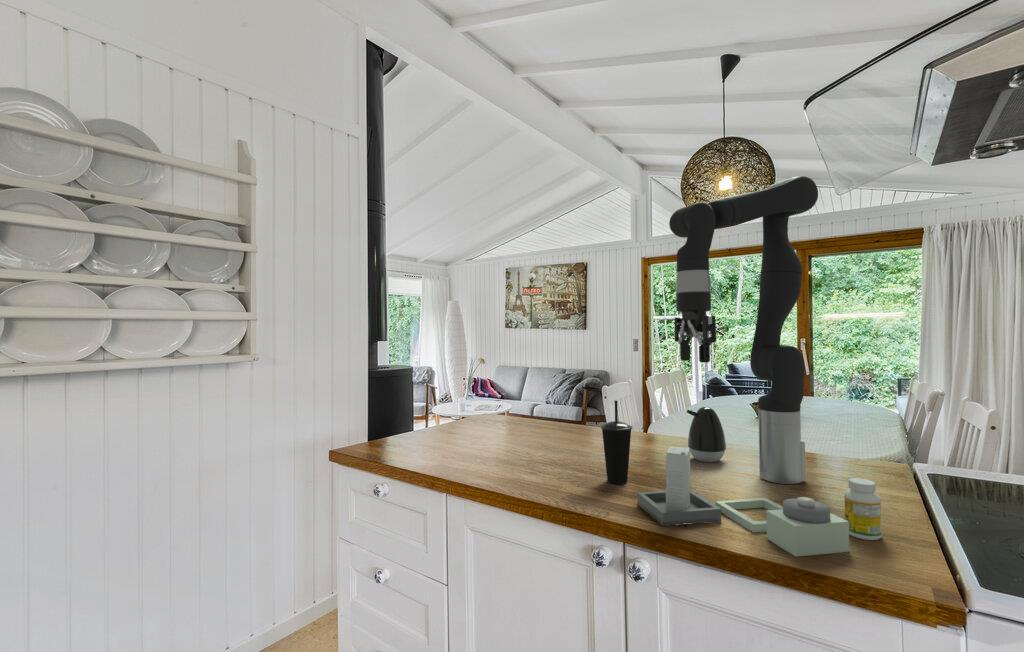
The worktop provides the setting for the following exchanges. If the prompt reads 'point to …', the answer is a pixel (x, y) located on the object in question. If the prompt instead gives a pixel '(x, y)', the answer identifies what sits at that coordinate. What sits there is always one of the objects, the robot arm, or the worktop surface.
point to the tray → (696, 513)
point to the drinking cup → (616, 449)
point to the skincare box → (677, 478)
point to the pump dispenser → (706, 435)
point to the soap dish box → (794, 524)
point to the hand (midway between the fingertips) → (694, 361)
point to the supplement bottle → (863, 509)
